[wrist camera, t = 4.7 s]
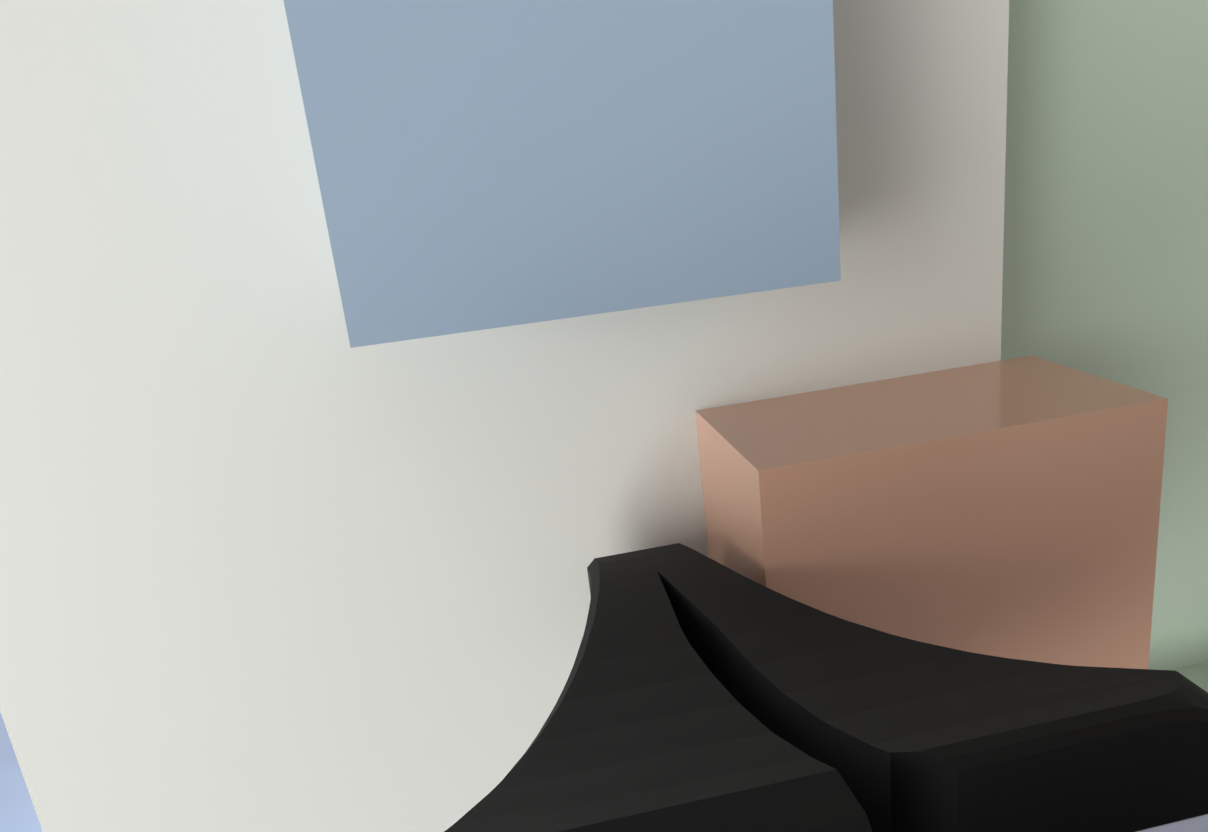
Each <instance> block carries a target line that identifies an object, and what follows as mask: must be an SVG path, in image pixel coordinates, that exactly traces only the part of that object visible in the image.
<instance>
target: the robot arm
mask: <svg viewBox="0 0 1208 832" xmlns="http://www.w3.org/2000/svg"><path fill="white" fill-rule="evenodd" d="M587 572H588V579H589V587H590V595H591V600H590V606H589V611H588V617H587V622H586V627H585V631H584V635H583V638H582V641H581V644H580V647H579V650H578V653H577V656H576V659H575V662H574V665H573V668H572V670H571V673H570V675H569V677H568V680H567V682H566V684H565V686H564V689H563V691H562V693H561V695H560V697H559V699H558V701H557V703H556V705H555V706H554V708H553V710H552V712H551V713H550V715H549V717H548V718H547V720H546V722H545V723H544V725H543V727H542V728H541V730H540V732H539V733H538V735H537V736H536V738H535V739H534V741H533V742H532V744H531V745H530V747H529V748H528V749H527V751H526V752H525V753H524V755H523V756H522V757H521V758H520V759H519V761H518V762H517V763H516V764H515V765H514V767H513V768H512V769H511V770H510V771H509V773H508V774H507V775H506V776H505V778H504V779H503V780H502V781H501V782H500V783H499V784H498V785H497V786H496V787H495V788H494V789H493V790H492V791H491V792H490V793H489V794H488V795H487V796H485V797H484V798H483V799H482V800H481V801H480V802H479V803H477V804H476V805H475V806H474V807H473V808H472V809H471V810H469V811H468V812H467V813H466V814H465V815H464V816H463V817H461V818H460V819H459V820H458V821H457V822H456V823H455V824H453V825H452V826H451V827H449V828H448V829H447V830H446V831H444V832H1208V692H1206V691H1205V690H1203V689H1202V688H1201V687H1199V686H1198V685H1196V684H1195V683H1193V682H1192V681H1190V680H1189V679H1188V678H1186V677H1185V676H1183V675H1182V674H1180V673H1179V672H1177V671H1172V670H1151V669H1130V668H1110V667H1089V666H1072V665H1060V664H1052V663H1044V662H1035V661H1027V660H1019V659H1010V658H1003V657H997V656H991V655H984V654H978V653H972V652H966V651H962V650H957V649H952V648H948V647H943V646H938V645H933V644H929V643H924V642H919V641H915V640H911V639H907V638H903V637H900V636H896V635H892V634H889V633H885V632H882V631H879V630H876V629H872V628H869V627H866V626H863V625H860V624H856V623H853V622H850V621H847V620H844V619H841V618H838V617H836V616H833V615H830V614H827V613H825V612H822V611H820V610H818V609H815V608H813V607H810V606H808V605H805V604H803V603H801V602H798V601H796V600H793V599H791V598H789V597H787V596H784V595H782V594H780V593H778V592H776V591H773V590H771V589H769V588H767V587H765V586H763V585H761V584H759V583H757V582H755V581H753V580H751V579H749V578H747V577H745V576H743V575H741V574H739V573H737V572H735V571H733V570H731V569H730V568H728V567H726V566H724V565H722V564H720V563H718V562H716V561H714V560H713V559H711V558H709V557H707V556H705V555H703V554H701V553H699V552H697V551H695V550H693V549H691V548H689V547H687V546H685V545H683V544H680V543H676V544H671V545H665V546H660V547H654V548H649V549H643V550H638V551H632V552H627V553H621V554H616V555H610V556H605V557H599V558H594V560H593V561H592V562H591V563H590V565H589V566H588V567H587Z"/></svg>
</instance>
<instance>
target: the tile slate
mask: <svg viewBox="0 0 1208 832" xmlns="http://www.w3.org/2000/svg"><path fill="white" fill-rule="evenodd" d="M283 1H284V6H285V11H286V16H287V21H288V26H289V32H290V37H291V42H292V47H293V52H294V57H295V63H296V68H297V73H298V78H299V83H300V89H301V94H302V99H303V104H304V109H305V114H306V120H307V125H308V130H309V135H310V140H311V145H312V151H313V156H314V161H315V166H316V171H317V177H318V182H319V187H320V192H321V197H322V202H323V208H324V213H325V218H326V223H327V228H328V233H329V239H330V244H331V249H332V254H333V259H334V265H335V270H336V275H337V280H338V285H339V290H340V296H341V301H342V306H343V311H344V316H345V321H346V327H347V332H348V337H349V342H350V347H351V348H353V347H361V346H368V345H375V344H382V343H390V342H397V341H404V340H411V339H419V338H426V337H433V336H441V335H448V334H455V333H462V332H470V331H477V330H484V329H491V328H499V327H506V326H513V325H521V324H528V323H535V322H542V321H550V320H557V319H564V318H572V317H579V316H586V315H593V314H601V313H608V312H615V311H622V310H630V309H637V308H644V307H652V306H659V305H666V304H673V303H681V302H688V301H695V300H702V299H710V298H717V297H724V296H732V295H739V294H746V293H753V292H761V291H768V290H775V289H783V288H790V287H797V286H804V285H812V284H819V283H826V282H833V281H841V270H840V235H839V200H838V165H837V130H836V96H835V61H834V26H833V0H283Z"/></svg>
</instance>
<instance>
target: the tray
mask: <svg viewBox="0 0 1208 832" xmlns="http://www.w3.org/2000/svg"><path fill="white" fill-rule="evenodd" d="M1031 355H1032V356H1036V357H1039V358H1042V359H1045V360H1048V361H1051V362H1054V363H1058V364H1061V365H1064V366H1067V367H1070V368H1073V369H1076V370H1080V371H1083V372H1086V373H1089V374H1092V375H1095V376H1098V377H1101V378H1105V379H1108V380H1111V381H1114V382H1117V383H1120V384H1123V385H1127V386H1130V387H1133V388H1136V389H1139V390H1142V391H1145V392H1149V393H1152V394H1155V395H1158V396H1161V397H1164V398H1167V399H1168V407H1167V421H1166V435H1165V448H1164V462H1163V476H1162V489H1161V503H1160V516H1159V530H1158V544H1157V557H1156V571H1155V585H1154V598H1153V612H1152V625H1151V639H1150V653H1149V666H1148V669H1151V670H1172V671H1177V672H1179V673H1180V674H1182V675H1183V676H1185V677H1186V678H1188V679H1189V680H1190V681H1192V682H1193V683H1195V684H1196V685H1198V686H1199V687H1201V688H1202V689H1203V690H1205V691H1206V692H1208V0H1009V34H1008V75H1007V116H1006V157H1005V199H1004V240H1003V281H1002V322H1001V360H1006V359H1013V358H1019V357H1025V356H1031Z"/></svg>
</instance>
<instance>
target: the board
mask: <svg viewBox="0 0 1208 832" xmlns="http://www.w3.org/2000/svg"><path fill="white" fill-rule="evenodd" d="M833 26H834V61H835V96H836V130H837V165H838V200H839V235H840V270H841V281H833V282H826V283H819V284H812V285H804V286H797V287H790V288H783V289H775V290H768V291H761V292H753V293H746V294H739V295H732V296H724V297H717V298H710V299H702V300H695V301H688V302H681V303H673V304H666V305H659V306H652V307H644V308H637V309H630V310H622V311H615V312H608V313H601V314H593V315H586V316H579V317H572V318H564V319H557V320H550V321H542V322H535V323H528V324H521V325H513V326H506V327H499V328H491V329H484V330H477V331H470V332H462V333H455V334H448V335H441V336H433V337H426V338H419V339H411V340H404V341H397V342H390V343H382V344H375V345H368V346H361V347H353V348H351V347H350V342H349V337H348V332H347V327H346V321H345V316H344V311H343V306H342V301H341V296H340V290H339V285H338V280H337V275H336V270H335V265H334V259H333V254H332V249H331V244H330V239H329V233H328V228H327V223H326V218H325V213H324V208H323V202H322V197H321V192H320V187H319V182H318V177H317V171H316V166H315V161H314V156H313V151H312V145H311V140H310V135H309V130H308V125H307V120H306V114H305V109H304V104H303V99H302V94H301V89H300V83H299V78H298V73H297V68H296V63H295V57H294V52H293V47H292V42H291V37H290V32H289V26H288V21H287V16H286V11H285V6H284V1H283V0H0V712H1V715H2V717H3V720H4V723H5V726H6V729H7V732H8V734H9V737H10V740H11V743H12V746H13V749H14V751H15V754H16V757H17V760H18V763H19V765H20V768H21V771H22V774H23V777H24V780H25V782H26V785H27V788H28V791H29V794H30V797H31V799H32V802H33V805H34V808H35V811H36V814H37V816H38V819H39V822H40V825H41V828H42V831H43V832H444V831H446V830H447V829H448V828H449V827H451V826H452V825H453V824H455V823H456V822H457V821H458V820H459V819H460V818H461V817H463V816H464V815H465V814H466V813H467V812H468V811H469V810H471V809H472V808H473V807H474V806H475V805H476V804H477V803H479V802H480V801H481V800H482V799H483V798H484V797H485V796H487V795H488V794H489V793H490V792H491V791H492V790H493V789H494V788H495V787H496V786H497V785H498V784H499V783H500V782H501V781H502V780H503V779H504V778H505V776H506V775H507V774H508V773H509V771H510V770H511V769H512V768H513V767H514V765H515V764H516V763H517V762H518V761H519V759H520V758H521V757H522V756H523V755H524V753H525V752H526V751H527V749H528V748H529V747H530V745H531V744H532V742H533V741H534V739H535V738H536V736H537V735H538V733H539V732H540V730H541V728H542V727H543V725H544V723H545V722H546V720H547V718H548V717H549V715H550V713H551V712H552V710H553V708H554V706H555V705H556V703H557V701H558V699H559V697H560V695H561V693H562V691H563V689H564V686H565V684H566V682H567V680H568V677H569V675H570V673H571V670H572V668H573V665H574V662H575V659H576V656H577V653H578V650H579V647H580V644H581V641H582V638H583V635H584V631H585V627H586V622H587V617H588V611H589V606H590V600H591V595H590V587H589V579H588V572H587V567H588V566H589V565H590V563H591V562H592V561H593V560H594V558H599V557H605V556H610V555H616V554H621V553H627V552H632V551H638V550H643V549H649V548H654V547H660V546H665V545H671V544H676V543H680V544H683V545H685V546H687V547H689V548H691V549H693V550H695V551H697V552H699V553H701V554H703V555H705V556H707V557H708V548H707V537H706V526H705V515H704V503H703V492H702V481H701V470H700V458H699V447H698V436H697V424H696V413H695V411H696V410H702V409H708V408H714V407H720V406H726V405H732V404H739V403H745V402H751V401H757V400H763V399H769V398H775V397H781V396H787V395H793V394H799V393H806V392H812V391H818V390H824V389H830V388H836V387H842V386H848V385H854V384H860V383H866V382H873V381H879V380H885V379H891V378H897V377H903V376H909V375H915V374H921V373H927V372H933V371H939V370H946V369H952V368H958V367H964V366H970V365H976V364H982V363H988V362H994V361H1000V360H1001V322H1002V281H1003V240H1004V199H1005V157H1006V116H1007V75H1008V34H1009V0H833Z"/></svg>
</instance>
